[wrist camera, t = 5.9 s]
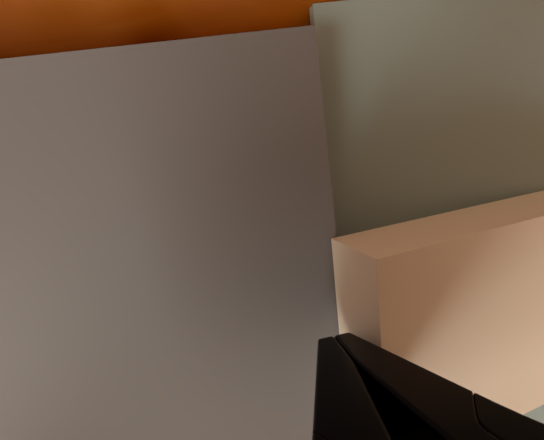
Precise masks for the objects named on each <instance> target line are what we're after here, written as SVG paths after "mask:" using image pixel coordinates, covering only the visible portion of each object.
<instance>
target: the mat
mask: <svg viewBox="0 0 544 440" xmlns="http://www.w3.org/2000/svg"><path fill="white" fill-rule="evenodd" d="M309 14H310V23H311V25H315V28H316V38H317V47H318V57H319V67H320V77H321V87H322V96H323V106H324V116H325V126H326V135H327V145H328V155H329V165H330V174H331V184H332V194H333V204H334V214H335V223H336V233H337V237H340V236H344V235H349V234H353V233H358V232H362V231H366V230H371V229H375V228H380V227H384V226H389V225H393V224H397V223H402V222H406V221H411V220H415V219H419V218H424V217H428V216H433V215H437V214H442V213H446V212H450V211H455V210H459V209H464V208H468V207H472V206H477V205H481V204H486V203H490V202H494V201H499V200H503V199H508V198H512V197H517V196H521V195H525V194H530V193H534V192H539V191H543V190H544V0H343V1H333V2H323V3H313V4H312V5H311V7H310V9H309ZM524 415H525V416H527V417H529V418H532V419H534V420H537V421H539V422H541V423H544V405H542V406H540V407H538V408H536V409H534V410H532V411H530V412H528V413H526V414H524Z"/></svg>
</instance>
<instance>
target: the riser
mask: <svg viewBox="0 0 544 440" xmlns="http://www.w3.org/2000/svg"><path fill="white" fill-rule="evenodd" d="M336 237H337V233H336V223H335V214H334V204H333V194H332V184H331V174H330V165H329V155H328V145H327V135H326V126H325V116H324V106H323V96H322V87H321V77H320V67H319V57H318V47H317V38H316V28H315V25H309V26H300V27H291V28H281V29H272V30H263V31H254V32H244V33H235V34H226V35H217V36H208V37H198V38H189V39H180V40H171V41H161V42H152V43H143V44H134V45H124V46H115V47H106V48H97V49H87V50H78V51H69V52H60V53H50V54H41V55H32V56H23V57H13V58H4V59H0V440H312V435H313V416H314V399H315V381H316V364H317V346H318V340H319V339H321V338H326V337H330V336H333V337H335V336H336V335H339V325H338V313H337V302H336V290H335V278H334V267H333V255H332V243H331V238H336Z"/></svg>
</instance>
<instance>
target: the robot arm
mask: <svg viewBox="0 0 544 440" xmlns="http://www.w3.org/2000/svg"><path fill="white" fill-rule="evenodd" d="M312 440H544V423H541V422H539V421H537V420H534V419H532V418H529V417H527V416H525V415H522V414H520V413H518V412H516V411H513V410H511V409H509V408H507V407H505V406H503V405H500V404H498V403H496V402H494V401H492V400H490V399H487V398H485V397H483V396H481V395H479V394H477V393H474V394H473V392H472V391H471V390H468V389H466V388H464V387H462V386H460V385H458V384H456V383H454V382H452V381H450V380H448V379H446V378H443V377H441V376H439V375H437V374H435V373H433V372H431V371H429V370H427V369H425V368H423V367H421V366H418V365H416V364H414V363H412V362H410V361H408V360H406V359H404V358H402V357H400V356H398V355H395V354H393V353H391V352H389V351H387V350H385V349H383V348H381V347H379V346H377V345H375V344H373V343H370V342H368V341H366V340H364V339H362V338H360V337H358V336H356V335H354V334H352V333H344V334H339V335H336V336H335V337H333V336H330V337H326V338H321V339H319V340H318V346H317V364H316V381H315V399H314V416H313V435H312Z"/></svg>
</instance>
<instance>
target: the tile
mask: <svg viewBox="0 0 544 440" xmlns="http://www.w3.org/2000/svg"><path fill="white" fill-rule="evenodd" d="M331 243H332V255H333V267H334V278H335V290H336V302H337V313H338V325H339V334H344V333H352V334H354V335H356V336H358V337H360V338H362V339H364V340H366V341H368V342H370V343H373V344H375V345H377V346H379V347H381V348H383V349H385V350H387V351H389V352H391V353H393V354H395V355H398V356H400V357H402V358H404V359H406V360H408V361H410V362H412V363H414V364H416V365H418V366H421V367H423V368H425V369H427V370H429V371H431V372H433V373H435V374H437V375H439V376H441V377H443V378H446V379H448V380H450V381H452V382H454V383H456V384H458V385H460V386H462V387H464V388H466V389H468V390H471V391H472V392H473V394H474V393H477V394H479V395H481V396H483V397H485V398H487V399H490V400H492V401H494V402H496V403H498V404H500V405H503V406H505V407H507V408H509V409H511V410H513V411H516V412H518V413H520V414H522V415H524V414H526V413H528V412H530V411H532V410H534V409H536V408H538V407H540V406H542V405H544V190H543V191H539V192H534V193H530V194H525V195H521V196H517V197H512V198H508V199H503V200H499V201H494V202H490V203H486V204H481V205H477V206H472V207H468V208H464V209H459V210H455V211H450V212H446V213H442V214H437V215H433V216H428V217H424V218H419V219H415V220H411V221H406V222H402V223H397V224H393V225H389V226H384V227H380V228H375V229H371V230H366V231H362V232H358V233H353V234H349V235H344V236H340V237H336V238H331Z"/></svg>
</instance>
